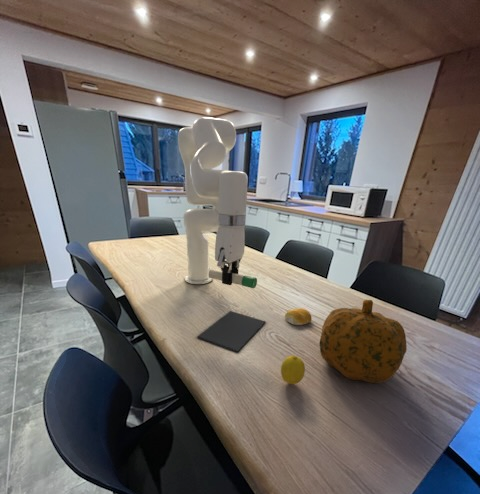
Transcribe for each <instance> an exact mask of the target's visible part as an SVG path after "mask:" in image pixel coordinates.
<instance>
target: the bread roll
mask: <svg viewBox="0 0 480 494" xmlns="http://www.w3.org/2000/svg"><path fill="white" fill-rule="evenodd" d="M284 318H285V320H286V321H287V322H288V323H289V324H292V325H294V326H303V325H306V324H309V323H311V322H312V314H311V312H310V311H308V310H307V309H305V308H295V309H290V310H288V311H286V312H285V314H284Z"/></svg>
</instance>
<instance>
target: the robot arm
mask: <svg viewBox="0 0 480 494" xmlns="http://www.w3.org/2000/svg"><path fill="white" fill-rule="evenodd" d="M236 143H237V130H236V127H235V125H234V123H233V122H232V121H230V120H229V119H223V118H215V117H209V116H208V117H207V116H203V117H199V118H197V119H196V120H195V121H194V122H193V124H192V126H185V127H182V128H180V129H179V130H178V133H177V147H178V151H179V154H180V157H181V160H182V163H183V167H184V168H183V169H184V181H185V182H184V183H185V185H184V186H185V197H186V201H187V203H188V204H190V205H192V206H208V207H209V206H211V207H212V208H190V209H187V210H186V211H184V214H183V223H184V224H183V225H184V229H185V236H186V255H187V256H186V257H187V274H186V275H185V276H184V281H185V282H186V283H188V284H192V285H205V284H209V283H210V282H212V281H213V279H212V278H209V275H208V274H209V270H210V269H214V268H213V267H212V266H211V267H209V265H210V263H209V260H210V259H209V256H210V255H209V253H210V252H209V249H210V248H209V247H210V246H209V240H208V239H207V237H206V236H205V235H204V234H203V233H216V234H215V245H214V260H215V261H216V262H217V264H216V267H218V268H219V269H220V270H221V271H222V281H221V284H223V285H227V286H232V284H233V283H232V273H235V274H239V269H240V263H241V260H242V258H243V257H244V255H245V245H246V244H245V243H246V234H245V233H246V232H245V231H246V229H245V228H246V221H247V220H246V218H247V202H248V201H247V200H248V184H249V180H248V179H249V177H248V175H247V173H246V172H244V171H238V170H225V169H216V168H218V167H219V166H220V165H222V164H223V163H224V162H225V159H226V157H227V153H228V152H230V151H231V150H232V149H233V148H234V147H235V146H236Z"/></svg>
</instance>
